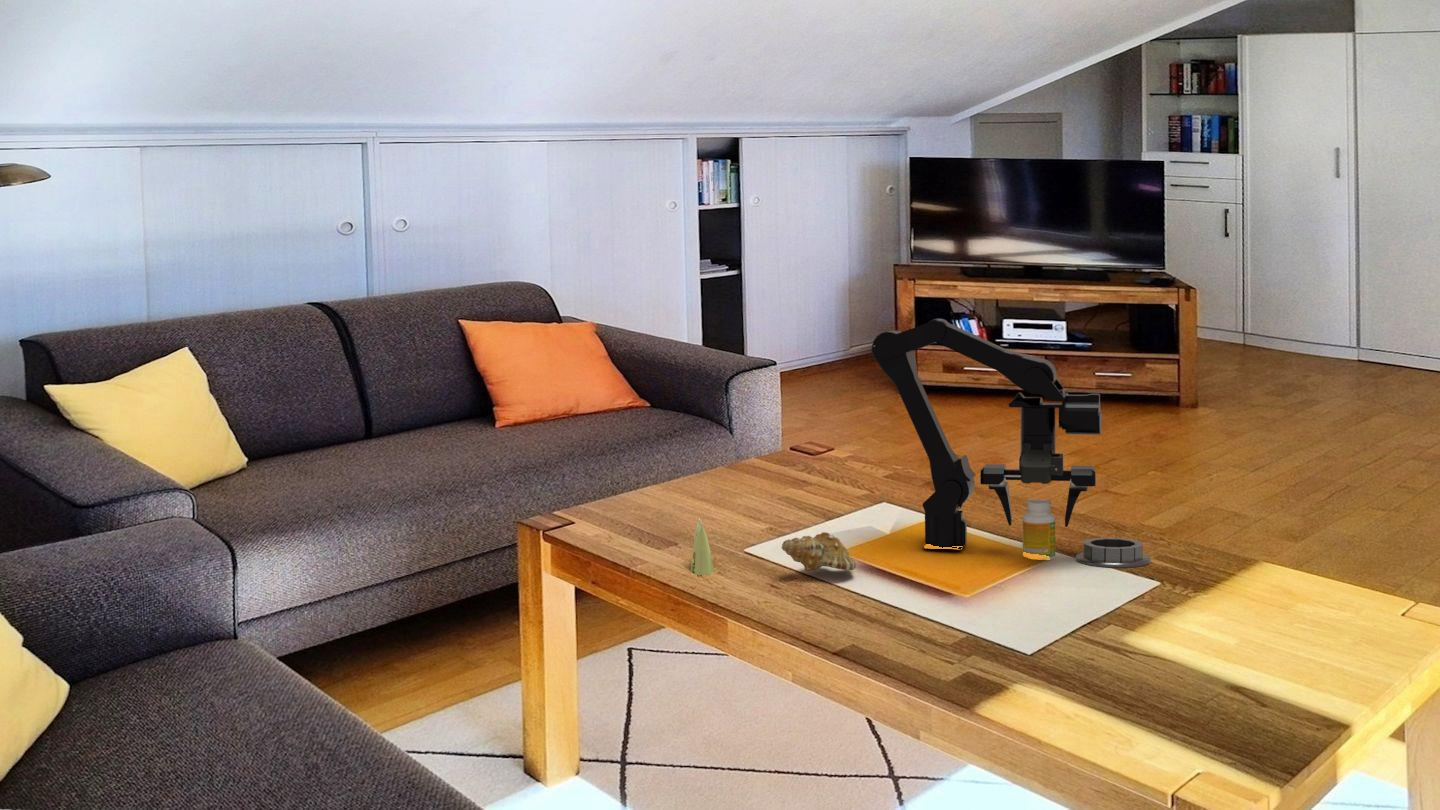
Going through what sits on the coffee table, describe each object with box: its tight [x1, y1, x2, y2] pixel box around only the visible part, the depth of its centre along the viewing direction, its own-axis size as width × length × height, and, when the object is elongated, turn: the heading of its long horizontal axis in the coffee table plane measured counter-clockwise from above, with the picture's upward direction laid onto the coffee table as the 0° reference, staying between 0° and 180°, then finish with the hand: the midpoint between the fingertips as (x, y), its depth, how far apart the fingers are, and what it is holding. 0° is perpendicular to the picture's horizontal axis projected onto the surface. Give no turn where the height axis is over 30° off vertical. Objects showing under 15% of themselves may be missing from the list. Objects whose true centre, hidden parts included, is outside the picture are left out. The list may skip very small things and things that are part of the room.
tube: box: [690, 517, 715, 576], centre depth 224 cm, size 6×5×20 cm
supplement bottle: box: [1022, 499, 1056, 561], centre depth 227 cm, size 5×5×10 cm
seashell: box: [780, 531, 857, 572], centre depth 220 cm, size 9×8×10 cm
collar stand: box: [1075, 537, 1152, 569], centre depth 224 cm, size 12×12×3 cm
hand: (1038, 525), depth 227 cm, fingers open, 9 cm apart
